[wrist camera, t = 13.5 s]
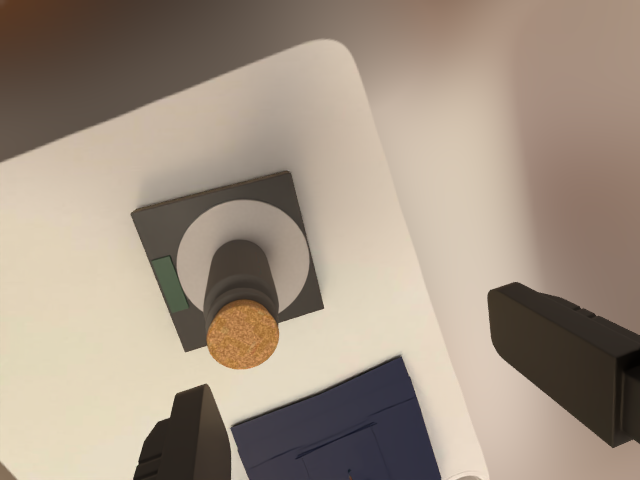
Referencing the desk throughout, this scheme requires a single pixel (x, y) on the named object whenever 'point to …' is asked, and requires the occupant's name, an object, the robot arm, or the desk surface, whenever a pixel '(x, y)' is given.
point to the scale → (219, 228)
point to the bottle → (241, 306)
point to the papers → (343, 434)
